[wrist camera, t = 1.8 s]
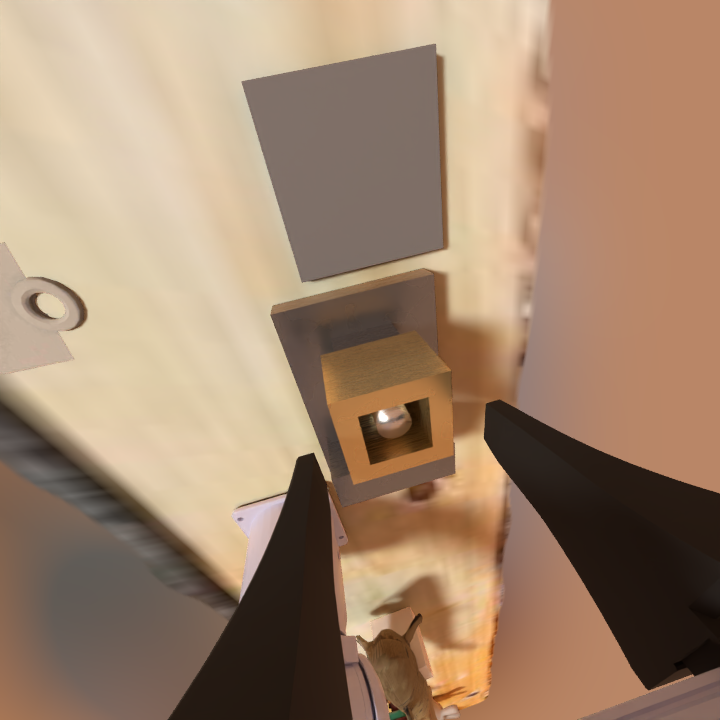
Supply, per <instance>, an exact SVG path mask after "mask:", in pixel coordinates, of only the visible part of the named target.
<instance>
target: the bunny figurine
mask: <svg viewBox="0 0 720 720" xmlns="http://www.w3.org/2000/svg"><path fill="white" fill-rule="evenodd" d="M432 699H433V698H432ZM433 706H434V710H435V715H436V717H437V720H445V719H448V718H449V719H451V718H459V717H460V712H459V710H458V707H457V705H451V706H448V707H446V708H444V709H443V708H442V706H441V705H440V704H439V703H438V702H436V701H435V700H434V699H433Z"/></svg>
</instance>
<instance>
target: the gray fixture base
mask: <svg viewBox="0 0 720 720" xmlns="http://www.w3.org/2000/svg"><path fill="white" fill-rule="evenodd" d="M270 315H271V318H272V320H273V323H274V326H275V328H276V331H277V333H278V336H279V339H280V341H281V344H282V346H283V349H284V352H285V354H286V357H287V360H288V362H289V365H290V367H291V370H292V373H293V375H294V378H295V380H296V383H297V386H298V388H299V391H300V393H301V396H302V399H303V401H304V404H305V406H306V409H307V412H308V414H309V417H310V420H311V422H312V425H313V427H314V430H315V433H316V435H317V438H318V440H319V443H320V446H321V448H322V451H323V453H324V456H325V459H326V461H327V464H328V467H329V469H330V472H331V478H332V482H333V484H334V487H335V489H336V492H337V495H338V497H339V500H340V502H341V505H342V507H346V506H349V505H352V504H356V503H359V502H362V501H366V500H369V499H372V498H375V497H379V496H382V495H385V494H389V493H392V492H395V491H399V490H402V489H405V488H409V487H412V486H415V485H419V484H422V483H425V482H428V481H432V480H435V479H438V478H442V477H445V476H448V475H452V474H455V443H454V442H453V447H454V455H453V456H449V457H446V458H443V459H439V460H436V461H433V462H429V463H426V464H422V465H419V466H416V467H412V468H409V469H406V470H402V471H399V472H396V473H392V474H389V475H385V476H382V477H379V478H375V479H372V480H369V481H365V482H362V483H359V484H355V485H354V484H353V481H352V478H351V475H350V472H349V469H348V466H347V463H346V460H345V457H344V454H343V451H342V448H341V445H340V442H339V439H338V436H337V433H336V430H335V427H334V424H333V421H332V418H331V415H330V411H329V408H328V405H327V399H326V392H325V385H324V378H323V371H322V364H321V357H320V355H324V354H327V353H331V352H335V351H339V350H343V349H346V348H350V347H354V346H358V345H362V344H365V343H369V342H373V341H377V340H380V339H384V338H388V337H392V336H396V335H399V334H403V333H407V332H411V331H416V332H417V333H418V334H419V335H420V336H421V337H422V339H423V340H424V341H425V342H426V343H427V344H428V345H429V346H430V347H431V348H432V350H433V351H434V352H435V353H436V354H437V355H438V341H437V323H436V304H435V286H434V274H433V273H431V272H430V271H428V270H426V269H424V268H422V269H418V270H414V271H410V272H406V273H402V274H398V275H394V276H390V277H386V278H382V279H378V280H374V281H370V282H366V283H362V284H358V285H354V286H350V287H346V288H342V289H338V290H334V291H330V292H326V293H322V294H318V295H314V296H310V297H306V298H302V299H298V300H294V301H290V302H286V303H282V304H278V305H274V306H272V310H271V314H270ZM372 416H373V419H374V422H375V425H376V427H377V430H378V433H379V434H380V435H381V436H382V437H385V438H397V437H400V436H402V435H403V434H405V433H406V432H407V431H408V430H409V429H410V427H411V424H412V419H411V417H410V415H409V413H408V411H407V409H406V407H405V405H404V404H402V405H398V406H394V407H391V408H387V409H384V410H380V411H377V412H373V413H372Z"/></svg>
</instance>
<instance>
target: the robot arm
mask: <svg viewBox="0 0 720 720" xmlns="http://www.w3.org/2000/svg"><path fill="white" fill-rule="evenodd" d="M484 439H485V441H486V443H487V445H488V446H489V448H490V450H491V451H492V453H493V455H494V456H495V458H496V459H497V461H498V462H499V464H500V465H501V466H502V467H503V469H504V470H505V471H506V473H507V474H508V475H509V477H510V478H511V479H512V480H513V482H514V483H515V484H516V485H517V486H518V488H519V489H520V490H521V492H522V493H523V494H524V495H525V497H526V498H527V499H528V501H529V502H530V503H531V504H532V506H533V507H534V508H535V509H536V511H537V512H538V514H539V515H540V516H541V518H542V519H543V520H544V522H545V523H546V525H547V526H548V528H549V529H550V531H551V532H552V534H553V535H554V537H555V538H556V540H557V541H558V543H559V545H560V546H561V548H562V549H563V550H564V552H565V554H566V556H567V557H568V559H569V560H570V562H571V564H572V565H573V567H574V568H575V570H576V572H577V573H578V575H579V576H580V578H581V579H582V581H583V583H584V584H585V586H586V588H587V590H588V591H589V593H590V595H591V596H592V598H593V600H594V601H595V603H596V605H597V607H598V608H599V610H600V612H601V613H602V615H603V617H604V619H605V621H606V622H607V624H608V626H609V628H610V629H611V631H612V633H613V635H614V637H615V638H616V640H617V642H618V643H619V645H620V647H621V649H622V651H623V653H624V655H625V657H626V658H627V660H628V662H629V664H630V666H631V668H632V669H633V671H634V672H635V673H636V675H637V676H638V678H639V679H640V680H641V682H642V683H643V685H644V686H645V688H646V689H648V690H651V689H654V688H656V687H659V686H662V685H665V684H667V683H670V682H673V681H675V680H678V679H681V678H684V677H686V676H689V675H692V674H693V675H694V677H691V678H689V679H686V680H683V681H681V682H678V683H675V684H673V685H670V686H667V687H664V688H662V689H659V690H657V691H654V692H651V693H648V694H646V695H643V696H640V697H638V698H635V699H632V700H629V701H627V702H624V703H621V704H618V705H616V706H613V707H610V708H608V709H605V710H602V711H600V712H597V713H594V714H592V715H589V716H586V717H583V718H581V719H578V720H720V494H719V493H716V492H713V491H710V490H706V489H703V488H700V487H696V486H693V485H690V484H687V483H684V482H681V481H678V480H675V479H672V478H669V477H666V476H664V475H661V474H658V473H655V472H652V471H649V470H646V469H644V468H641V467H638V466H636V465H633V464H630V463H628V462H625V461H623V460H621V459H618V458H616V457H613V456H611V455H608V454H606V453H604V452H602V451H599V450H597V449H595V448H592V447H590V446H588V445H586V444H584V443H582V442H580V441H577V440H575V439H573V438H571V437H569V436H567V435H565V434H563V433H561V432H559V431H557V430H555V429H553V428H551V427H549V426H548V425H546V424H544V423H542V422H540V421H538V420H536V419H534V418H533V417H531V416H529V415H527V414H525V413H524V412H522V411H520V410H518V409H516V408H515V407H513V406H511V405H509V404H507V403H505V402H503V401H502V400H497V401H493V402H490V403H486V410H485V428H484ZM232 518H233V519H234V520H235V522H236V523H237V524H238V526H239V527H240V528H241V530H242V531H243V532H244V533H245V535H246V536H247V537H248V539H249V540H248V547H247V554H246V561H245V567H244V574H243V581H242V588H241V594H240V601H239V605H238V606H237V608H236V610H235V612H234V614H233V616H232V617H231V619H230V621H229V623H228V624H227V626H226V628H225V629H224V631H223V633H222V634H221V636H220V638H219V640H218V641H217V643H216V645H215V646H214V648H213V650H212V652H211V653H210V655H209V657H208V658H207V660H206V661H205V663H204V665H203V666H202V668H201V670H200V671H199V673H198V674H197V676H196V677H195V679H194V680H193V682H192V683H191V685H190V687H189V688H188V690H187V691H186V693H185V694H184V696H183V697H182V699H181V700H180V702H179V703H178V705H177V707H176V708H175V710H174V711H173V713H172V714H171V716H170V717H169V719H168V720H390V717H389V711H388V706H387V702H386V698H385V694H384V691H383V688H382V685H381V682H380V680H379V677H378V675H377V673H376V672H375V670H374V668H373V666H372V665H371V663H370V661H369V660H368V659H367V657H366V656H365V655H363V654H358V651H357V643H356V637H355V636H346V623H347V612H346V603H345V595H344V586H343V578H342V569H341V561H340V552H339V546H343V545H345V544H347V543H348V537H347V535H346V532H345V530H344V527H343V525H342V523H341V520H340V518H339V515H338V513H337V510H336V508H335V506H334V503H333V501H332V498H331V496H330V493H329V491H328V489H327V484H326V481H325V479H324V476H323V474H322V471H321V469H320V467H319V464H318V462H317V459H316V457H315V454H314V453H311V454H307V455H304V456H300V457H298V459H297V460H296V465H295V469H294V472H293V476H292V479H291V483H290V486H289V489H288V492H287V494H284V495H281V496H277V497H274V498H270V499H267V500H264V501H260V502H257V503H253V504H250V505H247V506H243V507H240V508H236V509H234V510H233V512H232Z"/></svg>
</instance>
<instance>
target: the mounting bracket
mask: <svg viewBox="0 0 720 720" xmlns="http://www.w3.org/2000/svg"><path fill="white" fill-rule="evenodd" d="M42 292H44V293H47V294H51V295H53V296H54V297H56V298H58V299H59V300H60V301H61V302H62V303H63V305H64V308H65V314H64V315H63V317H62V318H59V319H53V318H50V317H49V316H48V315H47V314H45V313H43V312H42V311H41V310H39V309H38V307H37V306H36V304H35V298H36V297H37V296H36V294H35V293H42ZM83 320H84V308H83V306H82V304H81V302H80V299H79V298H78V297H77V296H76V295H75V294H74V293H73V292H72V291H71V290H70V289H68V288H67V287H65V286H64V285H62V284H60V283H59V282H57V281H54V280H50V279H47V278H44V277H28V278H26V277H25V275H24V274H23V272H22V270H21V269H20V267H19V265H18V264H17V262H16V260H15V259H14V257H13V255H12V254H11V252H10V250H9V248H8V247H7V245H6V243H5V242H4V243H0V373H2V374H7V373H12V372H17V371H21V370H26V369H31V368H36V367H41V366H45V365H50V364H55V363H60V362H65V361H69V360H74V358H73V356H72V354H71V353H70V351H69V349H68V348H67V346H66V344H65V343H64V341H63V339H62V337H61V336H60V334H59V332H58V331H69V330H71V329H74V328H76V327H78V326H79V325H80V324H81V322H82V321H83Z"/></svg>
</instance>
